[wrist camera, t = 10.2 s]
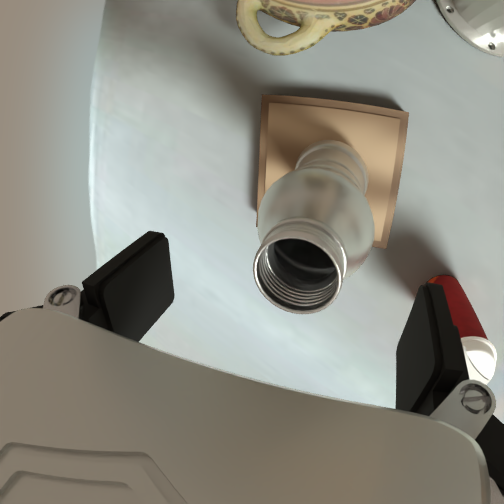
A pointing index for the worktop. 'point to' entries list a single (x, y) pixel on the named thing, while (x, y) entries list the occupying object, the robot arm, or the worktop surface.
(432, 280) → the paper cup
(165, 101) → the worktop surface
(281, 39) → the ceramic bowl
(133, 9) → the worktop surface
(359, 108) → the plinth
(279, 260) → the plastic bottle
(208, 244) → the worktop surface
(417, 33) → the worktop surface
